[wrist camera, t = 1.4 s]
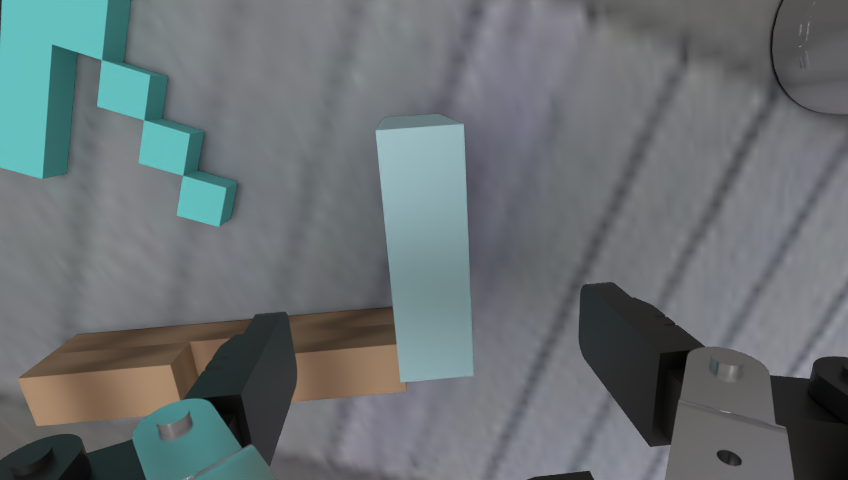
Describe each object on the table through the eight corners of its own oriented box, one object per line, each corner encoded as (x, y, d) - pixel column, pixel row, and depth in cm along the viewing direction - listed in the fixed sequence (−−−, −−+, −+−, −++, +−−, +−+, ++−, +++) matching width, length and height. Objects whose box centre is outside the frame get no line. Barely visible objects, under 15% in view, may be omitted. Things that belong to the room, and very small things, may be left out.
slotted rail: (401, 306, 28) (402, 343, 24) (405, 347, 29) (406, 391, 25) (76, 334, 27) (17, 378, 23) (91, 376, 28) (36, 426, 24)
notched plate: (438, 113, 25) (463, 124, 15) (447, 280, 28) (473, 375, 18) (384, 117, 25) (375, 130, 15) (399, 284, 28) (400, 382, 18)
